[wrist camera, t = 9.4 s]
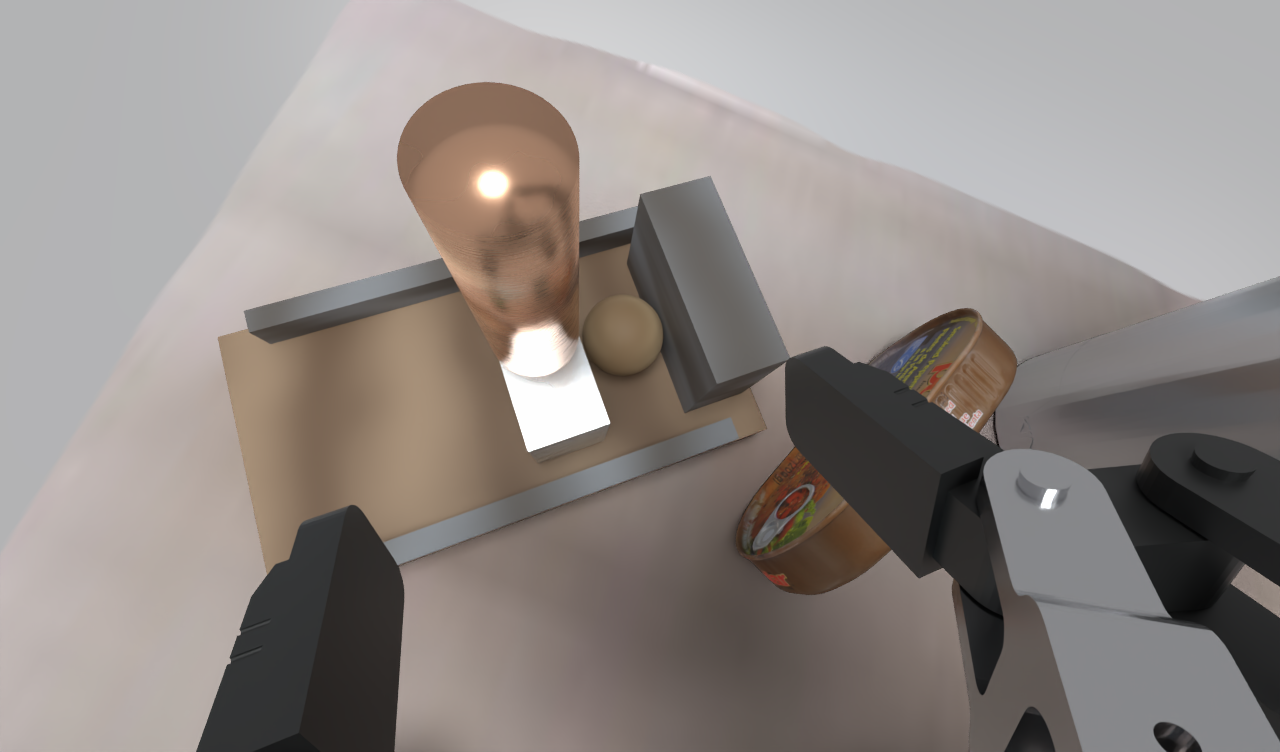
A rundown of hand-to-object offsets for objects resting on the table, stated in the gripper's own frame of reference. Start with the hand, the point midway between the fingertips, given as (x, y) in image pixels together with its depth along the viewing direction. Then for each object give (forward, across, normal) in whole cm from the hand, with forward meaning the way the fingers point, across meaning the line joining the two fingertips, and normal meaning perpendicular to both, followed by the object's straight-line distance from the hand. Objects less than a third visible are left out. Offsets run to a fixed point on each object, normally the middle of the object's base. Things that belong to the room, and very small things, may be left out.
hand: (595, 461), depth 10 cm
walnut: (+14, -4, +6) cm, 16 cm away
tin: (+10, -12, +13) cm, 21 cm away
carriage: (+14, 0, +6) cm, 15 cm away
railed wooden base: (+15, +2, +7) cm, 17 cm away
